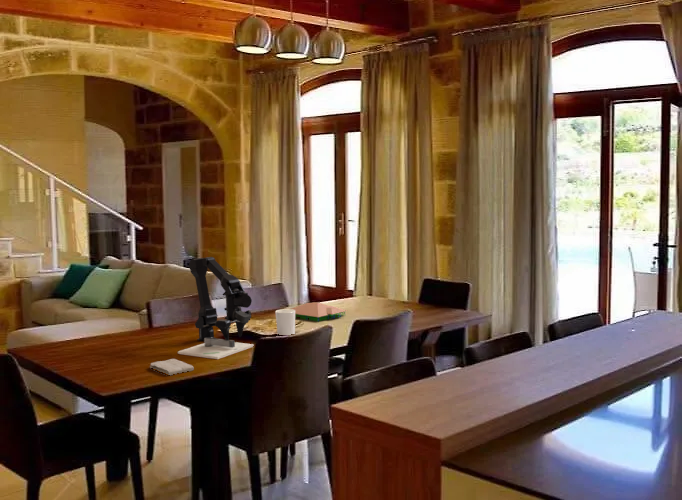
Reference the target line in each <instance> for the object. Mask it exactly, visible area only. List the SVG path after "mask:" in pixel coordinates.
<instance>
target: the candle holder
mask: <svg viewBox="0 0 682 500" xmlns="http://www.w3.org/2000/svg"><path fill="white" fill-rule="evenodd" d="M275 321H276V330H277V331H276V332H277V335H278V334H279V335H291V334H295V335H296V314H295V310H293V309H291V308H284V309H283V308H281V309H277V310H275Z"/></svg>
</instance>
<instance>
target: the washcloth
mask: <svg viewBox="0 0 682 500" xmlns="http://www.w3.org/2000/svg"><path fill="white" fill-rule="evenodd" d="M149 368H150V369H151V368H153V369H156V370H158V371H160V372H163V373H166V374H168V375H170V376H174V375H173V374H175V375H178V374H177V373H179V374H183V373H182V372H184V373H187V371H189V372H192V371H194V370H195V369H194V366H193V365H192V364H189V363H186V362H185V361H181V360H178V359H176V358H170V359H167V360H162V361H161V360H160V361H154V362H151V363H150V365H149Z"/></svg>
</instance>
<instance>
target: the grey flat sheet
mask: <svg viewBox="0 0 682 500" xmlns="http://www.w3.org/2000/svg"><path fill="white" fill-rule="evenodd" d="M253 346H254V344H253V343H251V344H250V343H246V342H245V343H243V342H237V341H236V342H235V347H233V348H231V347H224V346H216V345H213V346H210V347H206V346H205V344H204V342H203V343H201V344H197V345H194V346H191V347H188V348H184V349H181V350H179V351H177V354H179V355H185V356H192V357H198V358H199V357H200V358H207V359H215V360H219V359H223V358H225V357H228V356H232V355H233V354H236V353H239V352H242V351H245V350H247V349H251V348H254V347H255V346H254V347H253Z"/></svg>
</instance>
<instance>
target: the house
mask: <svg viewBox="0 0 682 500" xmlns="http://www.w3.org/2000/svg"><path fill="white" fill-rule="evenodd" d="M290 309H293V310H295V315H297V316H301V320H304V321H307V317H310V320H312V322H318V323H319V322H321V321H322V319H323V320H330V319H331V320H332V319H333V318H339V319H341V318H342V317H344V316H346V313H345V312H346V311H348V310H347V309H344V308H339V307H336V306H332V305H328V304H326V303H325V304H324V303H320V302H315V301H313V302H306V303H303V304H300V305H297V306H295V307H291V308H290Z"/></svg>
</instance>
